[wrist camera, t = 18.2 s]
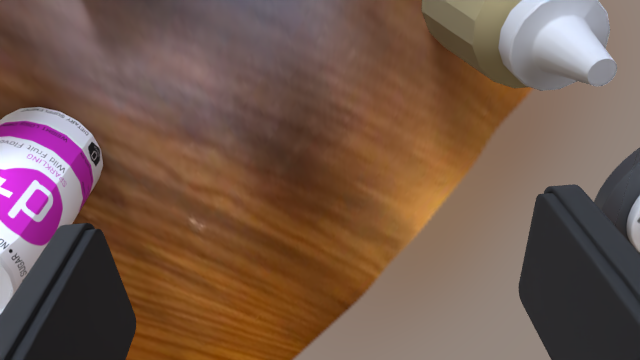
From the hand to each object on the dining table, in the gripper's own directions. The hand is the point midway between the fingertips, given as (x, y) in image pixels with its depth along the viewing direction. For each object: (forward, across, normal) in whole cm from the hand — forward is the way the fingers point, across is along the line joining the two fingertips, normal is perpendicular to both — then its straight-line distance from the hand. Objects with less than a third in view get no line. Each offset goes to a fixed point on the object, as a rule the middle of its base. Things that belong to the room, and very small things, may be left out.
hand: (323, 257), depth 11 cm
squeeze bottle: (+28, -11, 0) cm, 31 cm away
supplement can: (+28, +22, +11) cm, 37 cm away
